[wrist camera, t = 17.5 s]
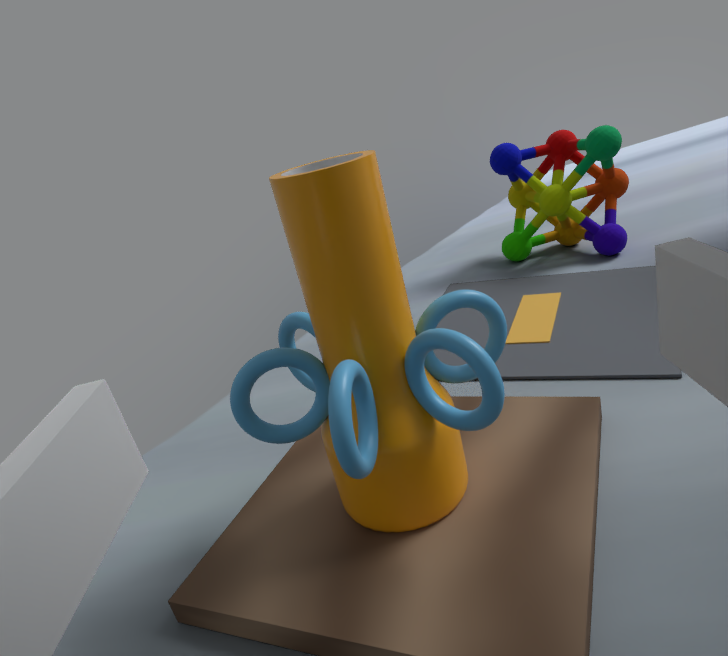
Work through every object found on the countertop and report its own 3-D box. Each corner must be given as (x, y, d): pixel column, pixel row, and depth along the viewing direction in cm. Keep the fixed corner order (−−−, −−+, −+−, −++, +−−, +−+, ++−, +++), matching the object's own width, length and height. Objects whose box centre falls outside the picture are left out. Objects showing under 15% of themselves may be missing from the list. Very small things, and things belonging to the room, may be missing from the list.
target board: (601, 416, 30) (600, 396, 29) (585, 719, 17) (582, 692, 16) (336, 411, 37) (332, 396, 36) (177, 622, 24) (167, 601, 23)
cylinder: (241, 517, 27) (118, 214, 21) (378, 406, 34) (312, 152, 28) (451, 638, 19) (339, 191, 13) (580, 458, 25) (541, 110, 20)
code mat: (662, 267, 46) (662, 263, 46) (681, 377, 31) (681, 372, 31) (450, 285, 54) (450, 283, 54) (386, 380, 39) (384, 377, 39)
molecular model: (497, 266, 56) (482, 147, 51) (519, 243, 61) (506, 134, 57) (622, 263, 49) (617, 126, 45) (634, 237, 55) (630, 114, 50)
